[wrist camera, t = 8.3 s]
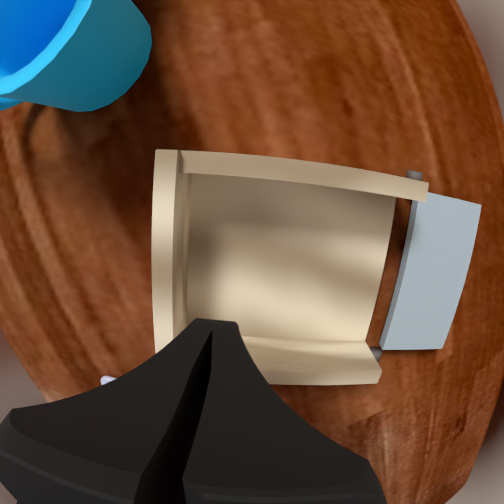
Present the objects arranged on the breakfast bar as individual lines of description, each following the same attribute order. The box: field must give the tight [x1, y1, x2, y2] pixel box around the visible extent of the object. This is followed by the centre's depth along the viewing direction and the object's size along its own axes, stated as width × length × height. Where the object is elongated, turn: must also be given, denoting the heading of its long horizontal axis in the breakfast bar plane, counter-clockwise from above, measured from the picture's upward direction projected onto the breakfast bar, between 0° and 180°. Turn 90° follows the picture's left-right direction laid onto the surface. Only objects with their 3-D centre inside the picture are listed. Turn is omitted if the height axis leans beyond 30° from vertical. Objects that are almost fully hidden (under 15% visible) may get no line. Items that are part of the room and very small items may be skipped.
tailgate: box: [379, 192, 481, 350], centre depth 18 cm, size 11×1×5 cm
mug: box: [0, 0, 152, 112], centre depth 11 cm, size 12×8×8 cm
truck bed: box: [152, 149, 429, 385], centre depth 17 cm, size 13×15×5 cm
